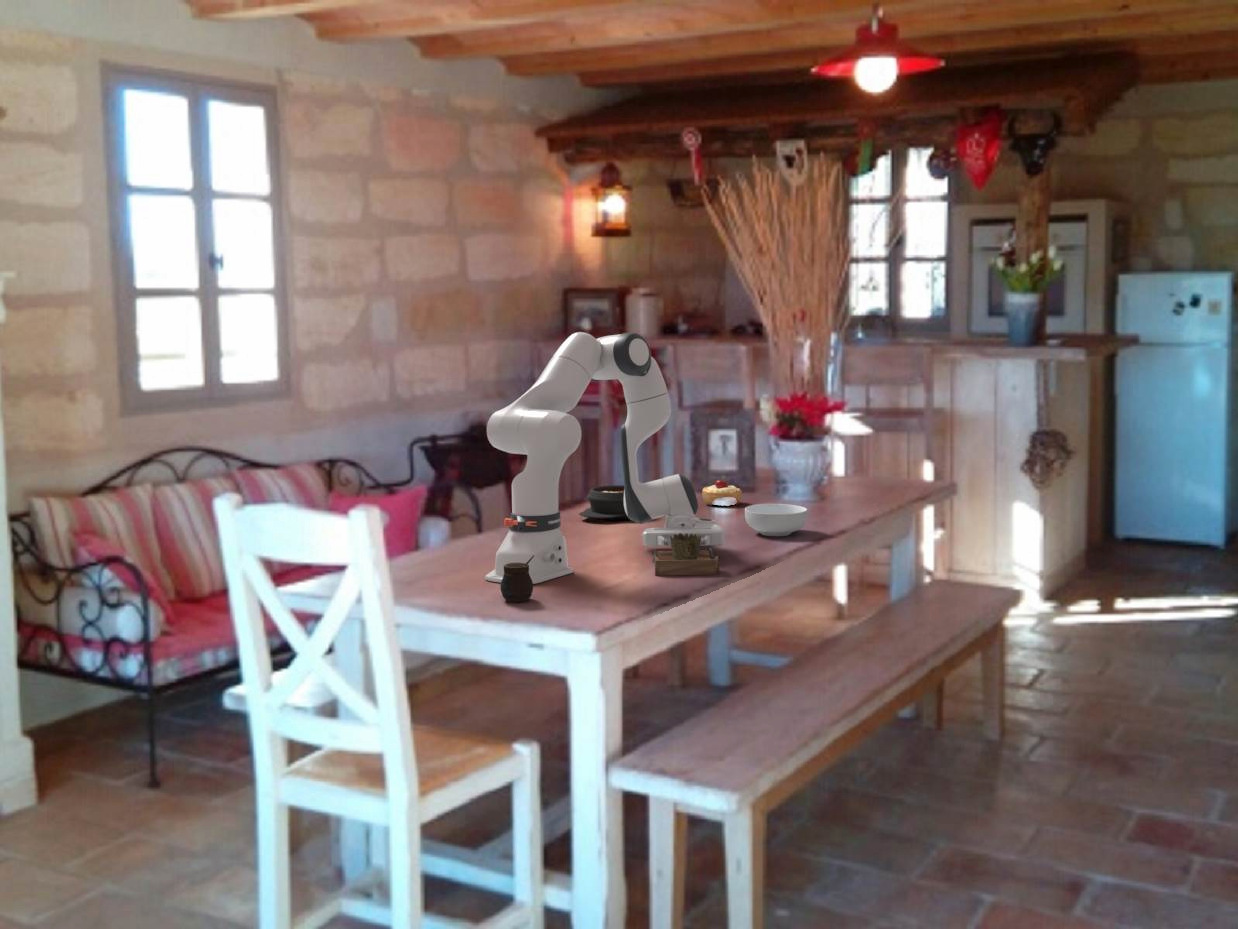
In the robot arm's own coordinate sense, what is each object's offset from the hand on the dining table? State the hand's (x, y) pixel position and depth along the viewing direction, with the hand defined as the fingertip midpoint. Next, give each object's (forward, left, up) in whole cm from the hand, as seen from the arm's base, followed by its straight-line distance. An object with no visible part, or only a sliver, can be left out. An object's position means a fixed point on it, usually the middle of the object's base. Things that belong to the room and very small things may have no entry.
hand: (684, 542), depth 343 cm
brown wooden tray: (+3, +1, -5) cm, 6 cm away
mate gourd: (-48, +21, -6) cm, 52 cm away
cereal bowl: (+45, -9, -6) cm, 47 cm away
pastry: (+86, +21, -6) cm, 89 cm away
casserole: (+56, +43, -6) cm, 71 cm away
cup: (-5, -2, -5) cm, 8 cm away
